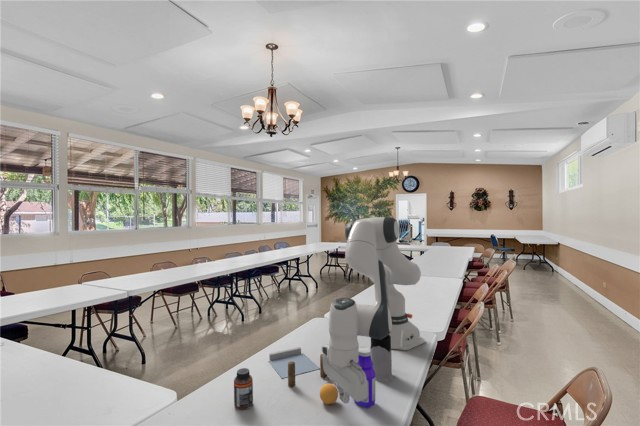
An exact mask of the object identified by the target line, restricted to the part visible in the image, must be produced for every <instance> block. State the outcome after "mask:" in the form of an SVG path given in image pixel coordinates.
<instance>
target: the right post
mask: <svg viewBox="0 0 640 426" xmlns="http://www.w3.org/2000/svg"><path fill="white" fill-rule="evenodd" d="M319 362H320V363H319V364H320V365H319V368H320V369H319V371H320V375H319V376H320V378H321V379H326V378H328V375H326V374H325V372H324V369H323V353H321V354H320V358H319Z"/></svg>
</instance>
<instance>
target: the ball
mask: <svg viewBox="0 0 640 426" xmlns="http://www.w3.org/2000/svg"><path fill="white" fill-rule="evenodd" d="M319 399H321V401H322V403H324V404H325V405H332V404H334V403H336V401H337V399H339V392H338V389H337V386H335V385H334V384H333V383H330V382H329V383H325V384H323V385H322V386H321V388H320V390H319Z"/></svg>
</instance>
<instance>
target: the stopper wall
mask: <svg viewBox="0 0 640 426" xmlns="http://www.w3.org/2000/svg"><path fill="white" fill-rule="evenodd" d="M298 354H302V348H301V347H300V346H299V347H294V348H288V349H284V350H281V351H280V350H279V351H276V352H275V351H274V352H271V353H269V360H268V361H272V360H276V359H280V358H285V357H289V356H294V355H298Z"/></svg>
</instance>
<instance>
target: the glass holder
mask: <svg viewBox="0 0 640 426" xmlns="http://www.w3.org/2000/svg"><path fill="white" fill-rule="evenodd" d="M369 349H370V354H371V360H372V362H373V366H372V367H373V369H374V371H375V382H382V383H383V382H390V381H391V380H393V377H394V376H393V373H392V372H393V366H392V349H391V336H390V335H388V336H386V337H385V338H383V339H381V340H379V339H374V338H370V348H369Z"/></svg>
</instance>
